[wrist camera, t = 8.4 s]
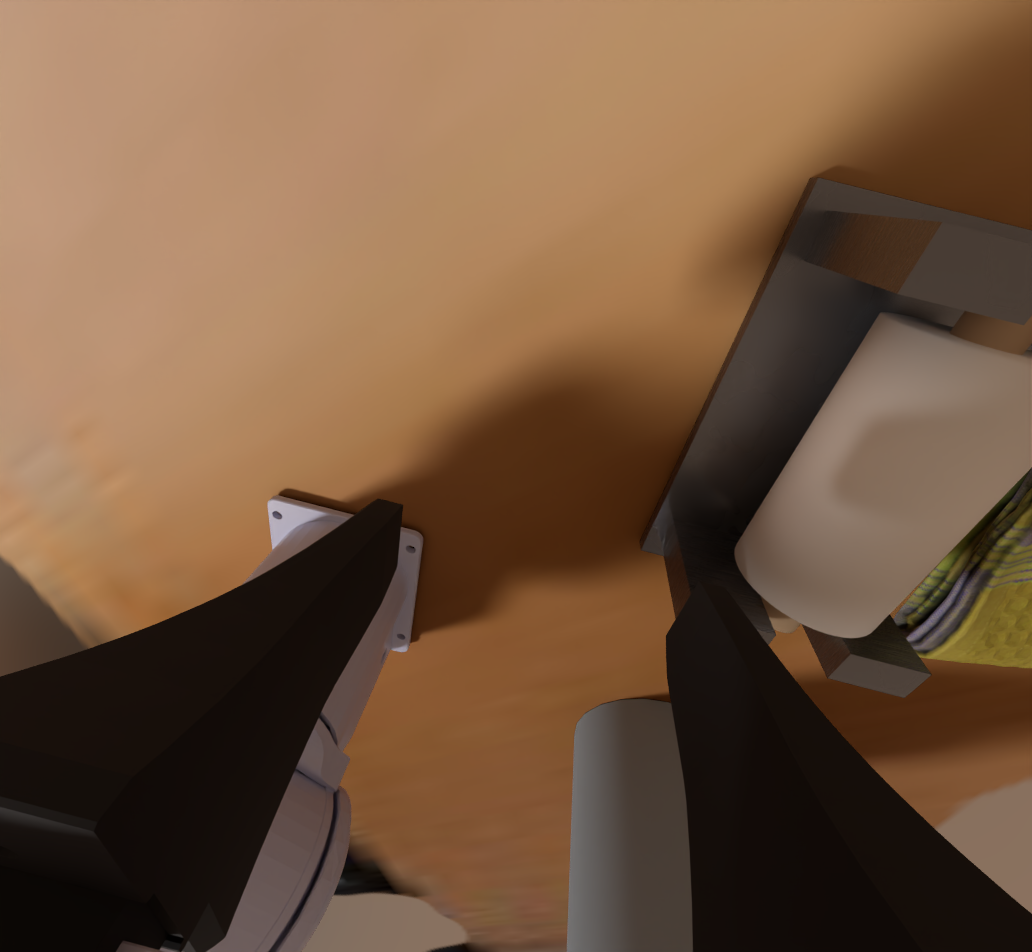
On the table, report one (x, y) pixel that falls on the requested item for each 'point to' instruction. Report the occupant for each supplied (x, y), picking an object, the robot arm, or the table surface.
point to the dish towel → (980, 592)
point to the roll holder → (823, 382)
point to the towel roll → (892, 471)
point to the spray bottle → (629, 833)
